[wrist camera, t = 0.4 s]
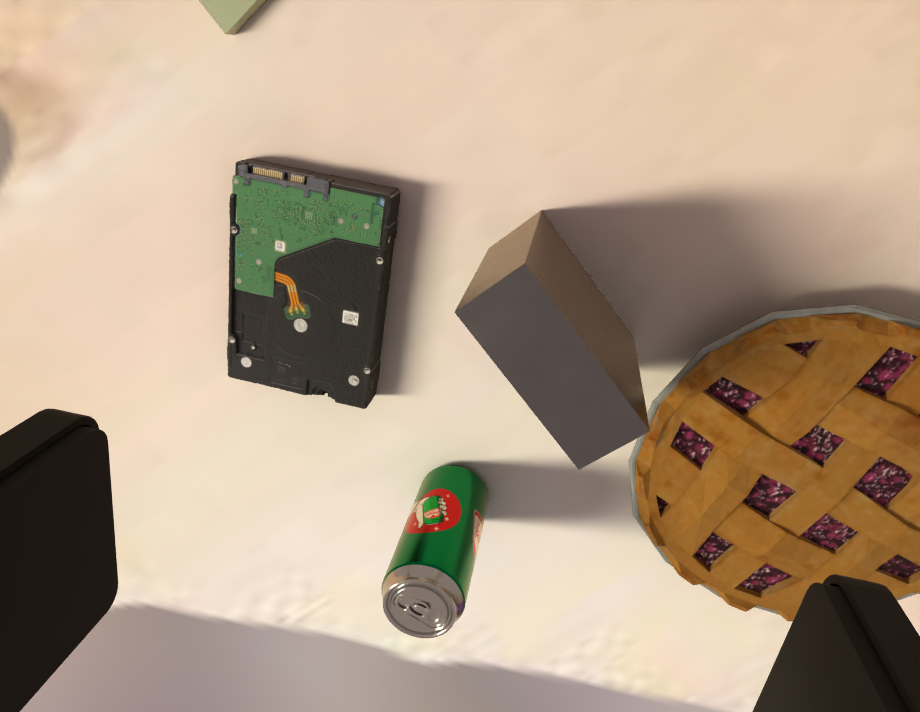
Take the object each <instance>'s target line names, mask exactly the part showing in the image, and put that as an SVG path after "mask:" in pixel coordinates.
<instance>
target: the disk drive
mask: <svg viewBox="0 0 920 712" xmlns="http://www.w3.org/2000/svg"><path fill="white" fill-rule="evenodd" d="M232 184H233V193H232V194H231V195H230V203H229V204H230V206H229V207H230V248H229V252H230V254H229V257H230V258H229V313H228V315H229V323H228V346H227V359H228V376H229V377H232V378H235V379H240V380H244V381H249V382H253V383H259V384H262V385H266V386H270V387H274V388H279V389H282V390H286V391H291V392H295V393H299V394H302V395H312V394H314V395H324V394H325V393H328V397H331V398H332V399H335V402H337V403H341V404H346V405H350V406H355V407H359V408H363V409H365V408H367V406H368V405H369V403H370V402H371V401H372V399H373V397H374V396H375V394H376V388H377V380H378V378H379V370H380V355H381V345H382V338H383V329H384V321H385V312H386V306H387V296H388V289H389V280H390V271H391V263H392V255H393V247H394V239H395V238H396V233H397V222H398V221H397V216H398V208H399V202H400V190H399V189H397V188H392V187H387V186H382V185H376V184H372V183H368V182H362V181H358V180H353V179H348V178H343V177H338V176H333V175H326V174H321V173H316V172H314V171H308V170H304V169H299V168H294V167H288V166H283V165H279V164H273V163H268V162H263V161H259V160H254V159H246V160H241V161H238V162H236V174H235V176H233V179H232Z"/></svg>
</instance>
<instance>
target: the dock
mask: <svg viewBox="0 0 920 712" xmlns="http://www.w3.org/2000/svg"><path fill="white" fill-rule="evenodd" d="M199 1H200V2H201V4H202V5H203V6H204V7H205V9H206V10H207V11H208V13H209V14H210V15H211V16H212V18H213V19H214V20H215V21H216V23H217V24H218V25H219V26H220V28H221V29H222V30H223V31H224V33H225V34H231V35H234V34H235V33H236V32H237V31H238V30H239V29H240V28H241V27H242V26H243V24H244V23H245V22H246V21H247V20H248V19H249V18H250V17H251V16H252V15H253V14H254V13H255V12H256V11H257V9H258V8H259V7H260V6H261V5H262V4H263V3H264V2H265V1H266V0H199Z"/></svg>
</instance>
